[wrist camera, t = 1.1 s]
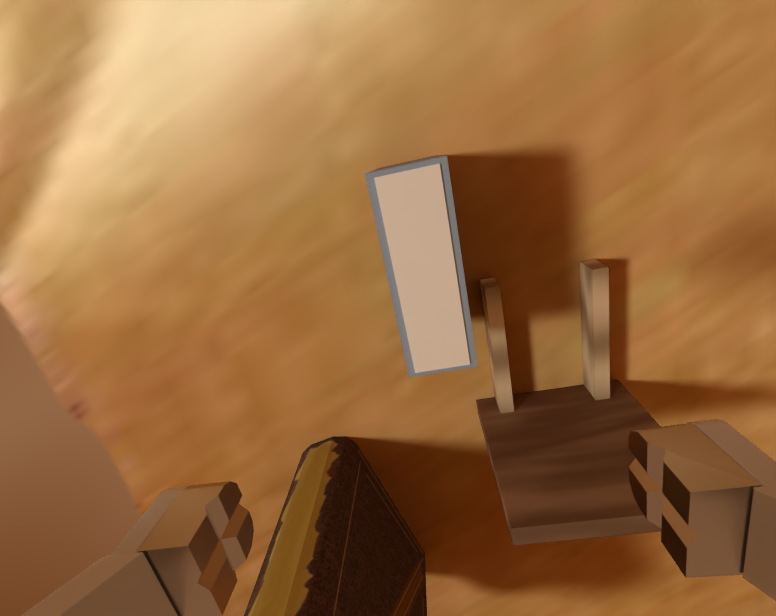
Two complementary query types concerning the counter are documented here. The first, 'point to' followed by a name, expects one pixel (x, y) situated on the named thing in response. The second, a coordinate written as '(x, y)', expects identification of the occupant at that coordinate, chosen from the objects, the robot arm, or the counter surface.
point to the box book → (424, 263)
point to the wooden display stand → (564, 434)
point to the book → (340, 544)
